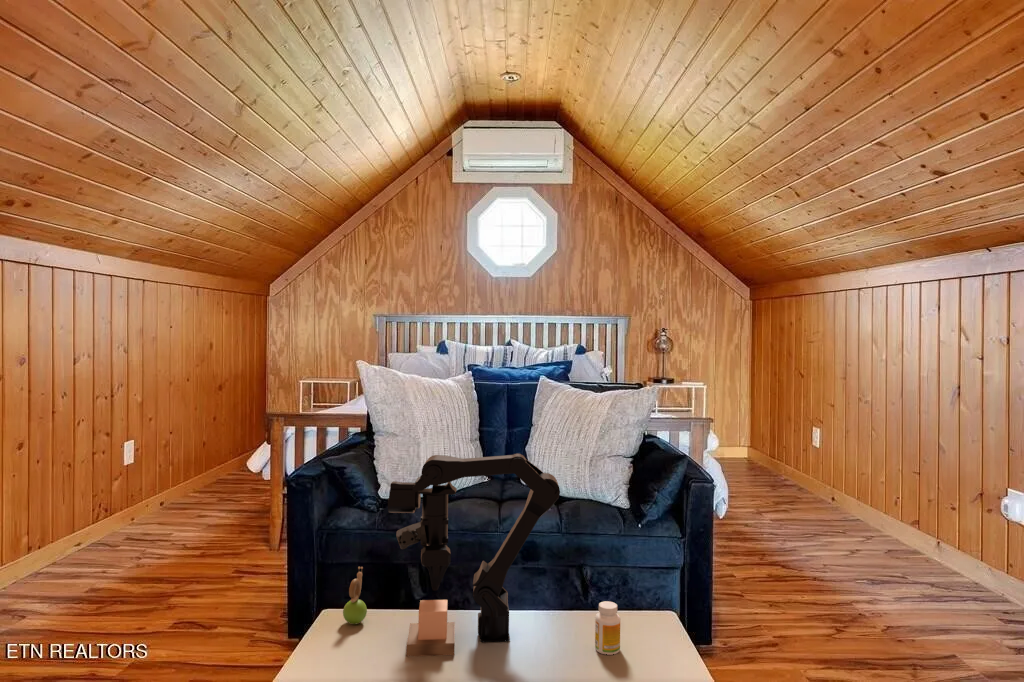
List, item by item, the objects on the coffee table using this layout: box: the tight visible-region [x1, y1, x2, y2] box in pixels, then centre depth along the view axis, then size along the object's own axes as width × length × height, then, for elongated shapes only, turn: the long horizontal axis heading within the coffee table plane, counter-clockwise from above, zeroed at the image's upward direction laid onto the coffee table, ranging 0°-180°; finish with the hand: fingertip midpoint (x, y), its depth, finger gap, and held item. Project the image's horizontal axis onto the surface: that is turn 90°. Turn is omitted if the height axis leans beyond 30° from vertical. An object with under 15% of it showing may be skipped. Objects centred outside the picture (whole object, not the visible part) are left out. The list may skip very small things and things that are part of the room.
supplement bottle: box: [594, 600, 621, 656], centre depth 139 cm, size 5×5×10 cm
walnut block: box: [406, 621, 456, 657], centre depth 141 cm, size 10×10×3 cm
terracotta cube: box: [418, 599, 448, 640], centre depth 140 cm, size 6×6×6 cm
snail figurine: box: [342, 566, 368, 625], centre depth 151 cm, size 5×6×12 cm
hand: (434, 582), depth 145 cm, fingers open, 9 cm apart
